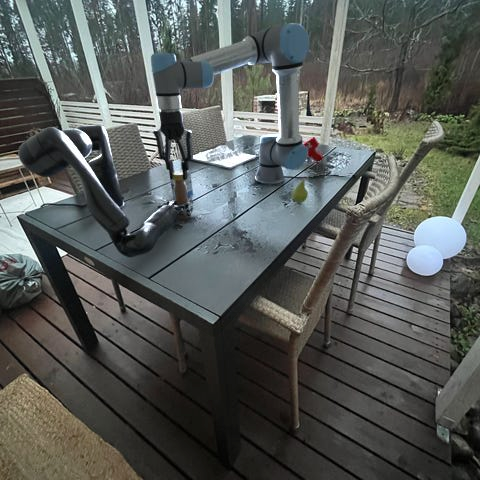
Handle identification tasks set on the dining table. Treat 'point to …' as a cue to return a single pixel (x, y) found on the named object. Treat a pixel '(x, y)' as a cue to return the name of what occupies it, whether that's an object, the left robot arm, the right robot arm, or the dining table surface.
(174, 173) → the cap
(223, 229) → the dining table surface
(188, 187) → the ink box
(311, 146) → the toy gun
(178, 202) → the bottle
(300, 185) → the fruit
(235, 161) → the relief map
